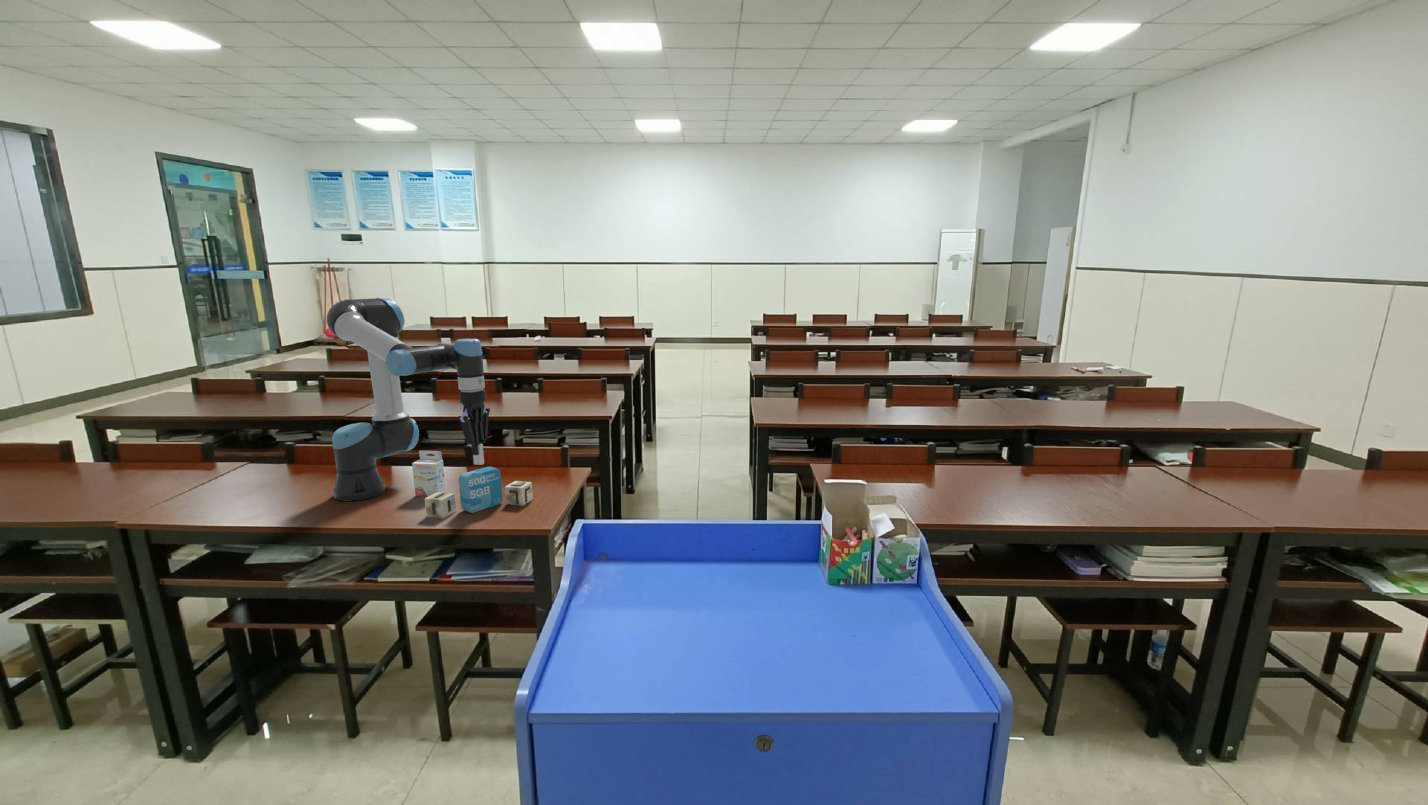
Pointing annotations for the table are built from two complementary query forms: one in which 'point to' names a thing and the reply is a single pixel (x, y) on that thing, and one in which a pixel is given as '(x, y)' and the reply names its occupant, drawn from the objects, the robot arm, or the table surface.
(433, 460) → the ink cartridge box
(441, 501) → the maple block one
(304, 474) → the table surface
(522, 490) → the maple block seven
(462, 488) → the data package
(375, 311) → the robot arm
